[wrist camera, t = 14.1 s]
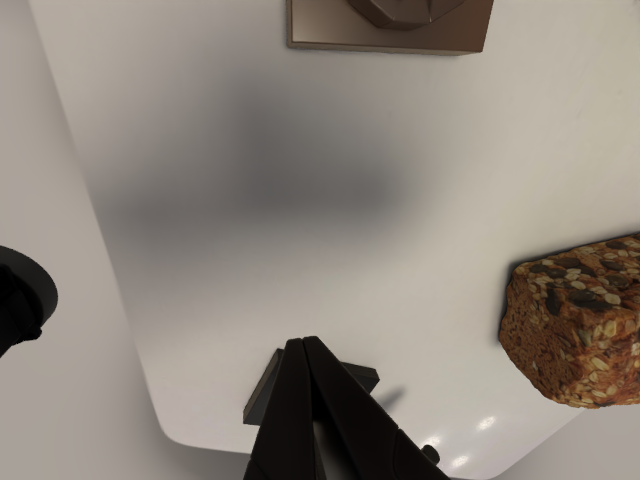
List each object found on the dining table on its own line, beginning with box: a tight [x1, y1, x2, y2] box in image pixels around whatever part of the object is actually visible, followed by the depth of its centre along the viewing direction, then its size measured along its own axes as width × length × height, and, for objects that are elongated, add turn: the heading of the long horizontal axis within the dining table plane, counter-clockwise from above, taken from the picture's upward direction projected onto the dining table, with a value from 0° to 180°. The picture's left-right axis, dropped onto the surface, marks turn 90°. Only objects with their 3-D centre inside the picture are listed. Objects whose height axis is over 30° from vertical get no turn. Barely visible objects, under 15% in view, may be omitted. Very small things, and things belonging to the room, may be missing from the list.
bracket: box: [243, 349, 380, 480], centre depth 24 cm, size 10×8×10 cm
